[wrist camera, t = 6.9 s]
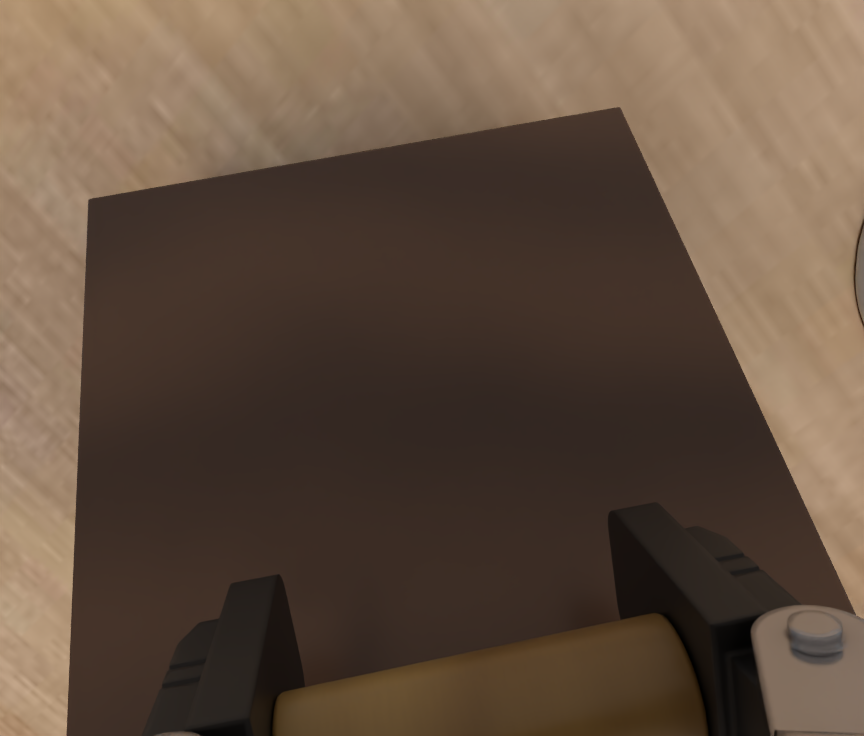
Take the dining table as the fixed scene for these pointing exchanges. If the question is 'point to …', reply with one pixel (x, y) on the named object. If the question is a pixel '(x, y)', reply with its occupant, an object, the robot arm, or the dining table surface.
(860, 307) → the utensil holder
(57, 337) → the dining table surface
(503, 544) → the lid
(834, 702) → the robot arm
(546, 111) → the dining table surface
